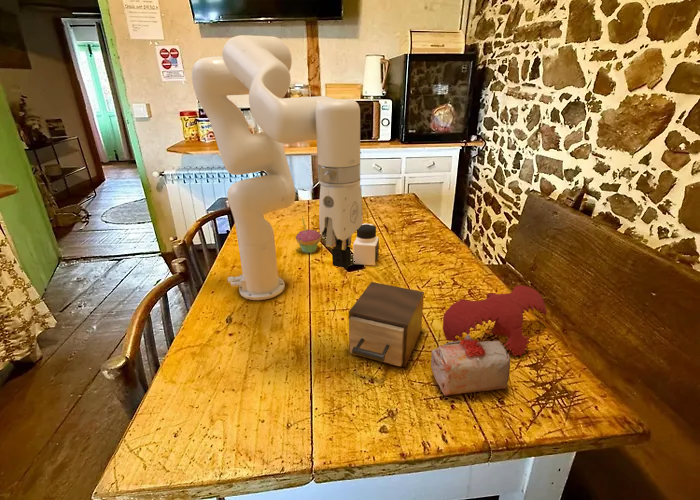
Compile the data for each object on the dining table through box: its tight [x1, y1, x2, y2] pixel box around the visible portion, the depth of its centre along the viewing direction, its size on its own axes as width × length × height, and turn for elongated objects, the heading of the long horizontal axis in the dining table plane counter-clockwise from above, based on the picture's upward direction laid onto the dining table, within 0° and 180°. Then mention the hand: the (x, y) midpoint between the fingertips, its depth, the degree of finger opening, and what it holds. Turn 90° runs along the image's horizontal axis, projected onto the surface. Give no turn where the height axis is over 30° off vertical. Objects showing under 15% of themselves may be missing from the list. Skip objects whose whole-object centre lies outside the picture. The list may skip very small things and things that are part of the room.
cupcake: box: [295, 216, 322, 254], centre depth 133 cm, size 9×8×12 cm
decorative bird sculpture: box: [442, 284, 548, 358], centre depth 88 cm, size 28×9×15 cm
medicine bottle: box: [352, 223, 380, 267], centre depth 125 cm, size 7×7×12 cm
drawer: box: [348, 316, 404, 368], centre depth 84 cm, size 17×11×9 cm
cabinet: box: [348, 281, 425, 368], centre depth 88 cm, size 14×13×11 cm
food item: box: [430, 333, 511, 397], centre depth 75 cm, size 14×8×10 cm, turn 97°
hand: (341, 265), depth 78 cm, fingers closed
